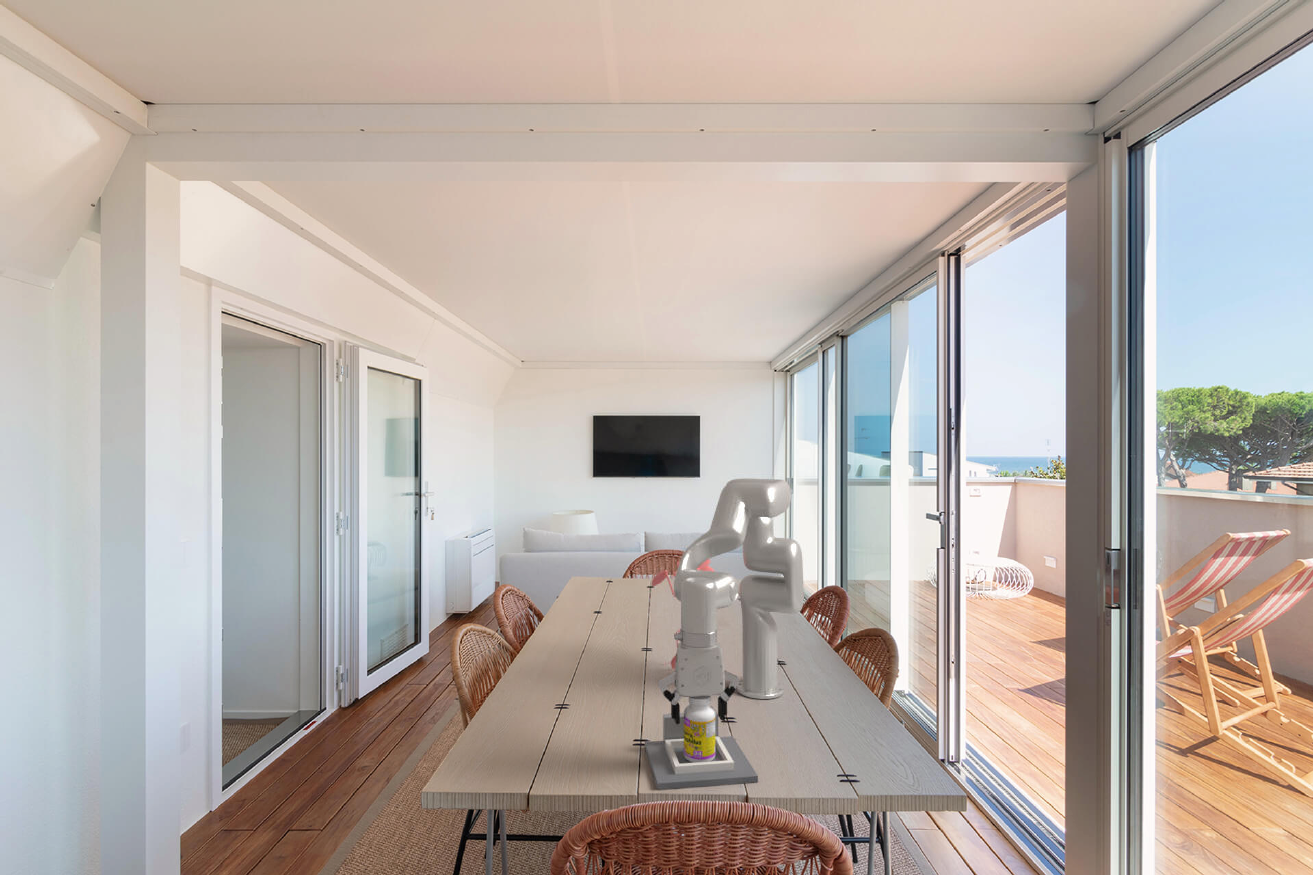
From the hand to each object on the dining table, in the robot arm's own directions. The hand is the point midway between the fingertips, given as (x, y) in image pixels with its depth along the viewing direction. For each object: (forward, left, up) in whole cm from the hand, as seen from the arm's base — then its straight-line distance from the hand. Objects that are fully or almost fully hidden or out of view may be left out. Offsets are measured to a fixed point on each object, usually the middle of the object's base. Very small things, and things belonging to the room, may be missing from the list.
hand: (699, 719), depth 131 cm
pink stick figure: (-59, +12, -9) cm, 60 cm away
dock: (0, 0, -9) cm, 9 cm away
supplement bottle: (0, 0, -8) cm, 8 cm away
